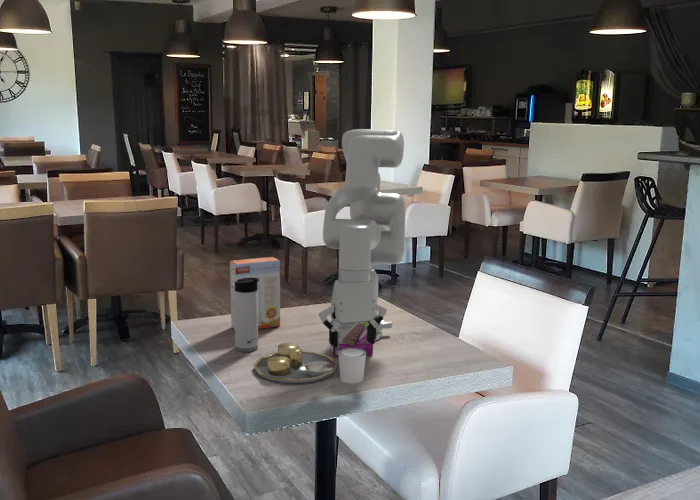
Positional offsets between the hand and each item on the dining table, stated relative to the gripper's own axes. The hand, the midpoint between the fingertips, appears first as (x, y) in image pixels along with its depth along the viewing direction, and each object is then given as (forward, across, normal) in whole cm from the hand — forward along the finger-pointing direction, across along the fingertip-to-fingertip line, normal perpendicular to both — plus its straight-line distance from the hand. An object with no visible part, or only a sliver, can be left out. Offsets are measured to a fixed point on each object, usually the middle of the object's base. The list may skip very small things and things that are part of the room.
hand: (352, 344), depth 169 cm
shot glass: (+10, 0, -1) cm, 10 cm away
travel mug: (+9, +18, -31) cm, 37 cm away
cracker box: (+8, +12, -49) cm, 51 cm away
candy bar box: (+9, -8, -18) cm, 21 cm away
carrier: (+9, +10, -12) cm, 18 cm away
